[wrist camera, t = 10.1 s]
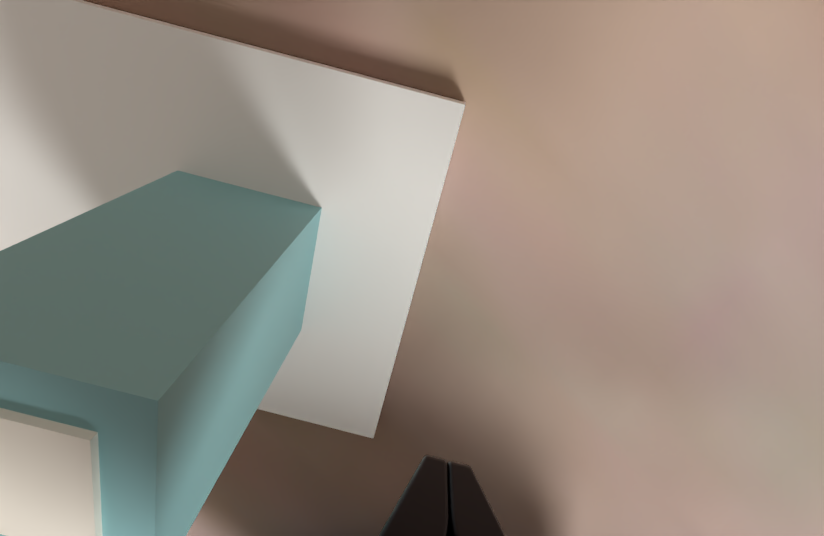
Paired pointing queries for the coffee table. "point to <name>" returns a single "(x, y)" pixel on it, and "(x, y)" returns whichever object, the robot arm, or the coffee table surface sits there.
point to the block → (142, 352)
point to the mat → (235, 168)
